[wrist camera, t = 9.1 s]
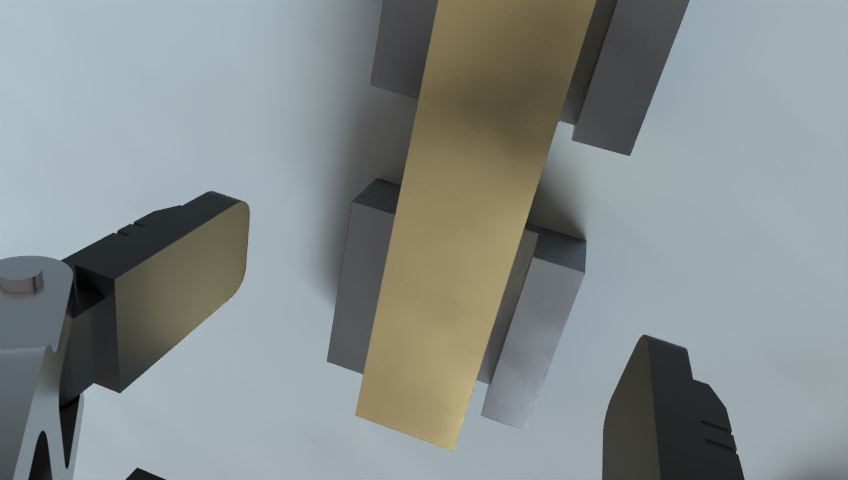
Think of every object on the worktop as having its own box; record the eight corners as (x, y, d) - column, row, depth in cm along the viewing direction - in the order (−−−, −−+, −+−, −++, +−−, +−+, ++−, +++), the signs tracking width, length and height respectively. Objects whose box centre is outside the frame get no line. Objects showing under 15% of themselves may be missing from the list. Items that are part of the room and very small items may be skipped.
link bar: (609, -50, 17) (614, -56, 11) (486, 341, 23) (453, 451, 18) (500, -74, 17) (456, -92, 12) (409, 315, 24) (355, 415, 18)
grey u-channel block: (718, -112, 16) (737, -124, 14) (531, 388, 24) (524, 431, 22) (437, -169, 17) (413, -189, 15) (350, 327, 25) (326, 361, 23)
